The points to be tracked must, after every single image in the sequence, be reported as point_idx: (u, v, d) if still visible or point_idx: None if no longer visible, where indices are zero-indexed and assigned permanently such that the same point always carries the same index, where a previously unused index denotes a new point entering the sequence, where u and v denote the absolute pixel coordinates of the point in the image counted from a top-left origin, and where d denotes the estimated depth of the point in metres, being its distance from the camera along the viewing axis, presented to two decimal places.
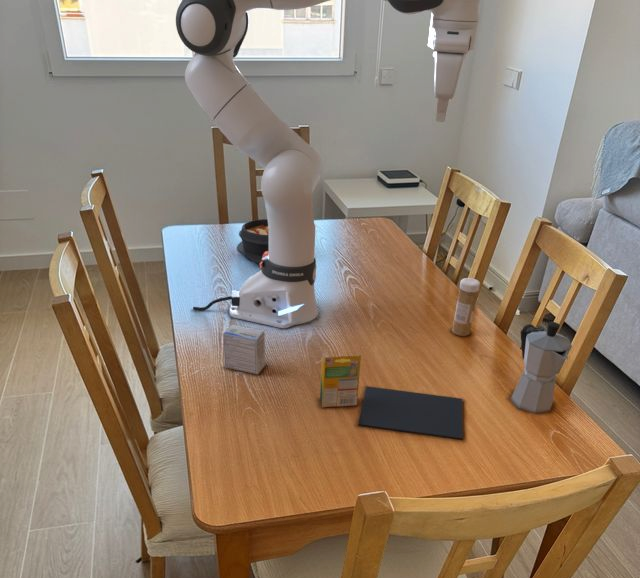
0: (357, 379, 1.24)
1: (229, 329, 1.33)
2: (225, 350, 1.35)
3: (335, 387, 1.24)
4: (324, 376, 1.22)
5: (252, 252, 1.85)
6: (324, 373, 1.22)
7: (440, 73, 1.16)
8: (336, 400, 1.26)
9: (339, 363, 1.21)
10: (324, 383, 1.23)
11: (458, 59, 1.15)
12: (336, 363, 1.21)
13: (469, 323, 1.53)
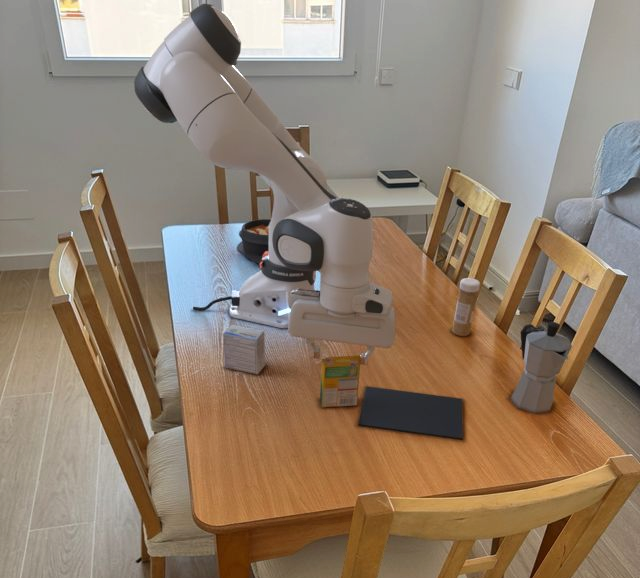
0: (357, 379, 1.24)
1: (229, 329, 1.33)
2: (225, 350, 1.35)
3: (335, 387, 1.24)
4: (324, 376, 1.22)
5: (252, 252, 1.85)
6: (324, 373, 1.22)
7: (394, 327, 1.15)
8: (336, 400, 1.26)
9: (339, 363, 1.21)
10: (324, 383, 1.23)
11: (392, 308, 1.16)
12: (336, 363, 1.21)
13: (469, 323, 1.53)
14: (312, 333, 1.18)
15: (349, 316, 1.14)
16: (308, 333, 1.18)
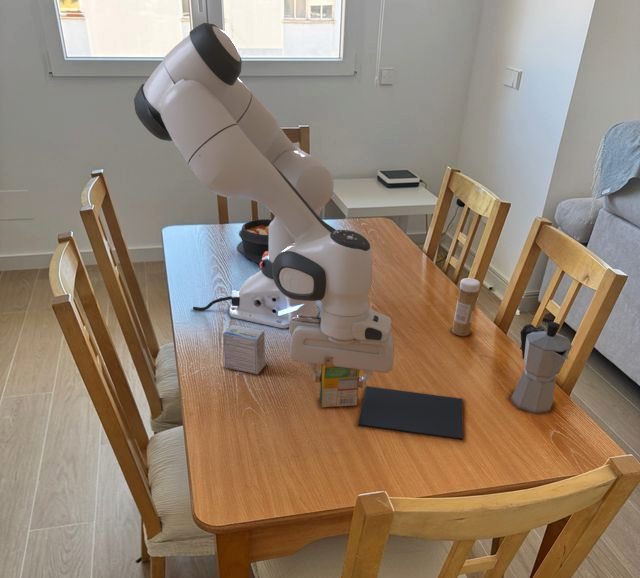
0: (357, 379, 1.24)
1: (229, 329, 1.33)
2: (225, 350, 1.35)
3: (335, 387, 1.24)
4: (324, 376, 1.22)
5: (252, 252, 1.85)
6: (324, 373, 1.22)
7: (392, 353, 1.18)
8: (336, 400, 1.26)
9: None
10: (324, 383, 1.23)
11: (391, 334, 1.19)
12: None
13: (469, 323, 1.53)
14: (313, 358, 1.21)
15: (349, 342, 1.17)
16: (309, 358, 1.21)
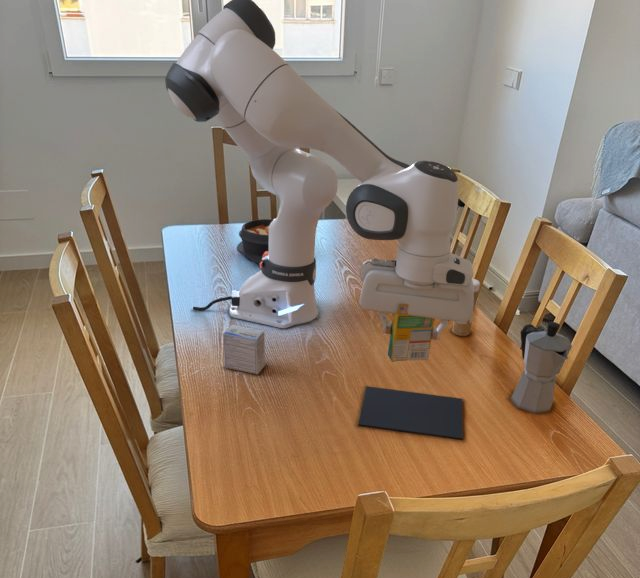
0: (431, 330, 1.15)
1: (229, 329, 1.33)
2: (225, 350, 1.35)
3: (407, 339, 1.15)
4: (396, 326, 1.14)
5: (252, 252, 1.85)
6: (396, 323, 1.13)
7: (473, 300, 1.09)
8: (406, 354, 1.17)
9: None
10: (396, 334, 1.14)
11: (471, 280, 1.10)
12: None
13: (469, 323, 1.53)
14: (385, 306, 1.12)
15: (427, 287, 1.08)
16: (381, 306, 1.12)
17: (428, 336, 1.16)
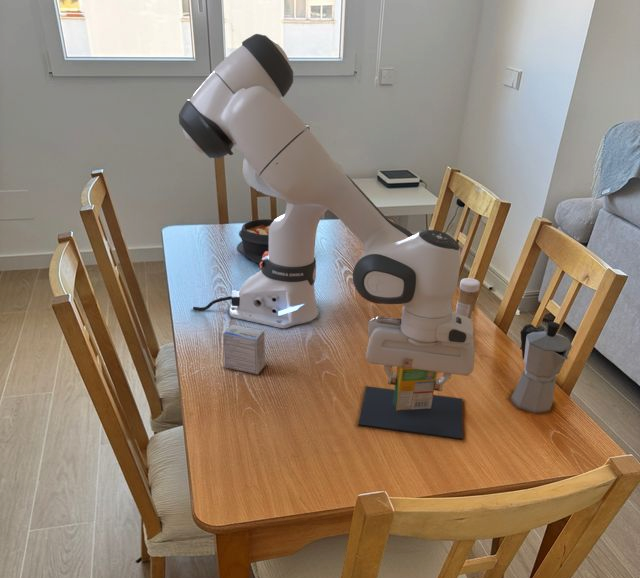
0: (433, 382, 1.22)
1: (229, 329, 1.33)
2: (225, 350, 1.35)
3: (411, 390, 1.22)
4: (401, 379, 1.20)
5: (252, 252, 1.85)
6: (401, 376, 1.19)
7: None
8: (410, 403, 1.24)
9: None
10: (400, 386, 1.21)
11: None
12: None
13: None
14: (391, 360, 1.19)
15: (431, 344, 1.14)
16: (386, 360, 1.19)
17: (431, 387, 1.22)
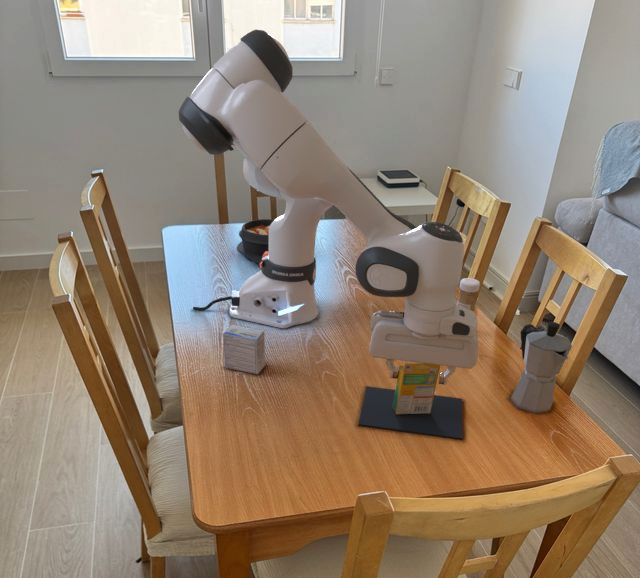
0: (434, 387, 1.22)
1: (229, 329, 1.33)
2: (225, 350, 1.35)
3: (412, 395, 1.22)
4: (402, 383, 1.20)
5: (252, 252, 1.85)
6: (402, 380, 1.20)
7: None
8: (410, 408, 1.24)
9: (418, 370, 1.19)
10: (401, 390, 1.21)
11: None
12: (415, 370, 1.19)
13: None
14: (394, 354, 1.18)
15: (434, 338, 1.14)
16: (390, 354, 1.18)
17: (431, 392, 1.23)
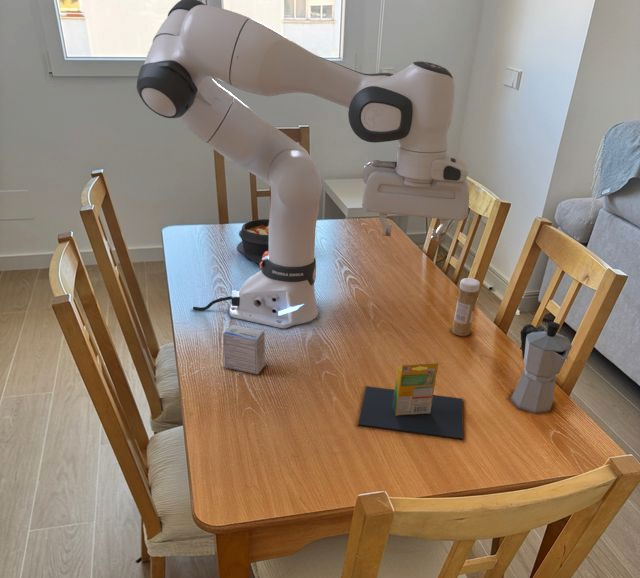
0: (432, 387, 1.22)
1: (229, 329, 1.33)
2: (225, 350, 1.35)
3: (411, 395, 1.22)
4: (400, 384, 1.21)
5: (252, 252, 1.85)
6: (400, 381, 1.20)
7: None
8: (410, 409, 1.24)
9: (416, 371, 1.19)
10: (399, 391, 1.21)
11: (466, 180, 1.18)
12: (413, 371, 1.19)
13: (469, 323, 1.53)
14: (386, 207, 1.20)
15: (426, 185, 1.16)
16: (382, 207, 1.20)
17: (430, 392, 1.23)
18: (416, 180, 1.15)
